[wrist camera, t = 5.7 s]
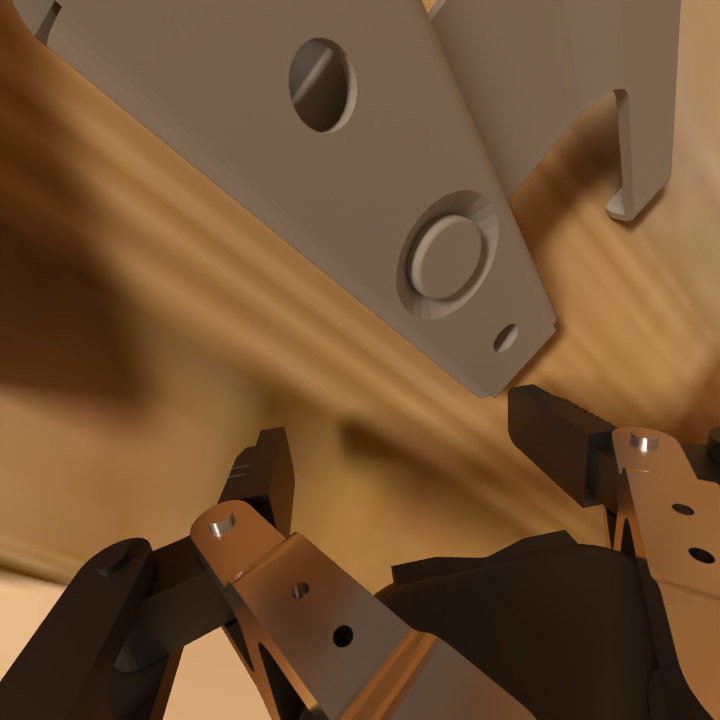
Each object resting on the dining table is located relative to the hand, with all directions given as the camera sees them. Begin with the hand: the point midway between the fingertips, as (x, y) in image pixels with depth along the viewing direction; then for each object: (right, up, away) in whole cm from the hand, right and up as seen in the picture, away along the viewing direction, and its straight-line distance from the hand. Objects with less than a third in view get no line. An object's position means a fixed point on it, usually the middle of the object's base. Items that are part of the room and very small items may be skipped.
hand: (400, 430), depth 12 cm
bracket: (0, +10, 0) cm, 10 cm away
